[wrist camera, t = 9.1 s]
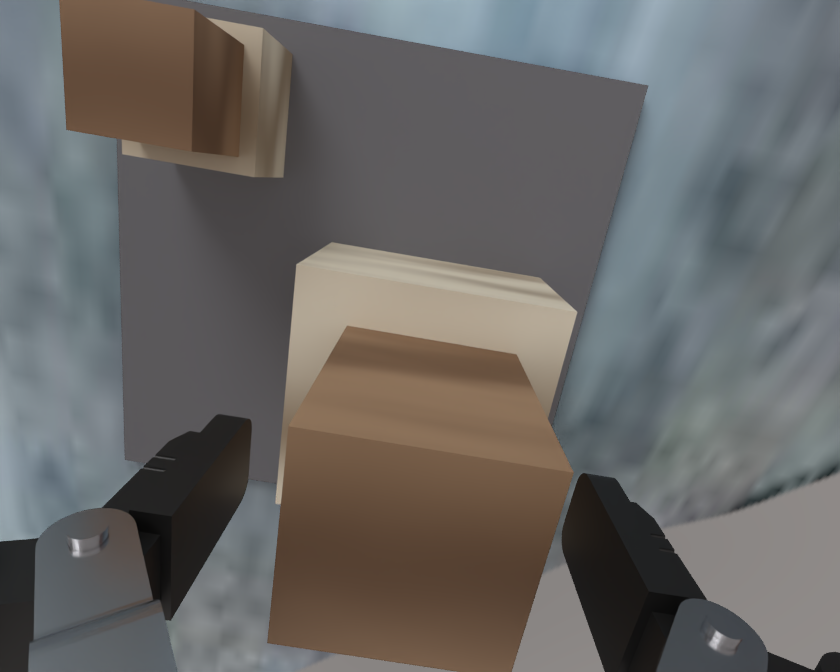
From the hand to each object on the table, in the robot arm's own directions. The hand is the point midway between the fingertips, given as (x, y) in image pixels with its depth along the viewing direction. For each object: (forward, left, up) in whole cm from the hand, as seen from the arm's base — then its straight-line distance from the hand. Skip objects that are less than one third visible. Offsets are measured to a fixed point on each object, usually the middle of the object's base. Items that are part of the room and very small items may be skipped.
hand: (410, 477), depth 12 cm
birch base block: (0, 0, -8) cm, 8 cm away
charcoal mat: (-2, -3, -9) cm, 10 cm away
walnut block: (0, 0, -3) cm, 3 cm away
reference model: (-8, -8, -8) cm, 14 cm away
